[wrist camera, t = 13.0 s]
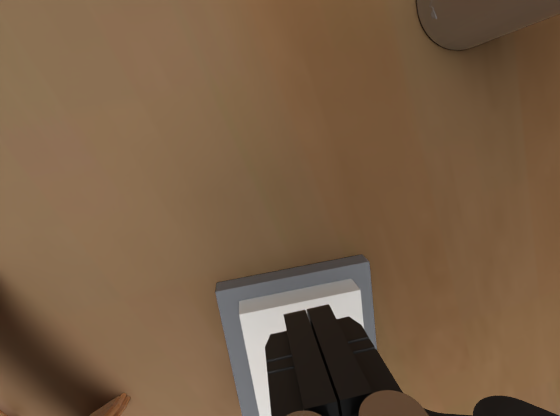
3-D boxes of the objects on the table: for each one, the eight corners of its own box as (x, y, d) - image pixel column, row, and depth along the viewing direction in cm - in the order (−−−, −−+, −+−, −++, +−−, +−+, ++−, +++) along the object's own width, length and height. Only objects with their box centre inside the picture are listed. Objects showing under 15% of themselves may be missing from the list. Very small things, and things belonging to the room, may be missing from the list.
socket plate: (361, 254, 34) (380, 271, 30) (372, 375, 38) (390, 406, 34) (216, 282, 33) (213, 304, 28) (243, 405, 36) (243, 442, 32)
